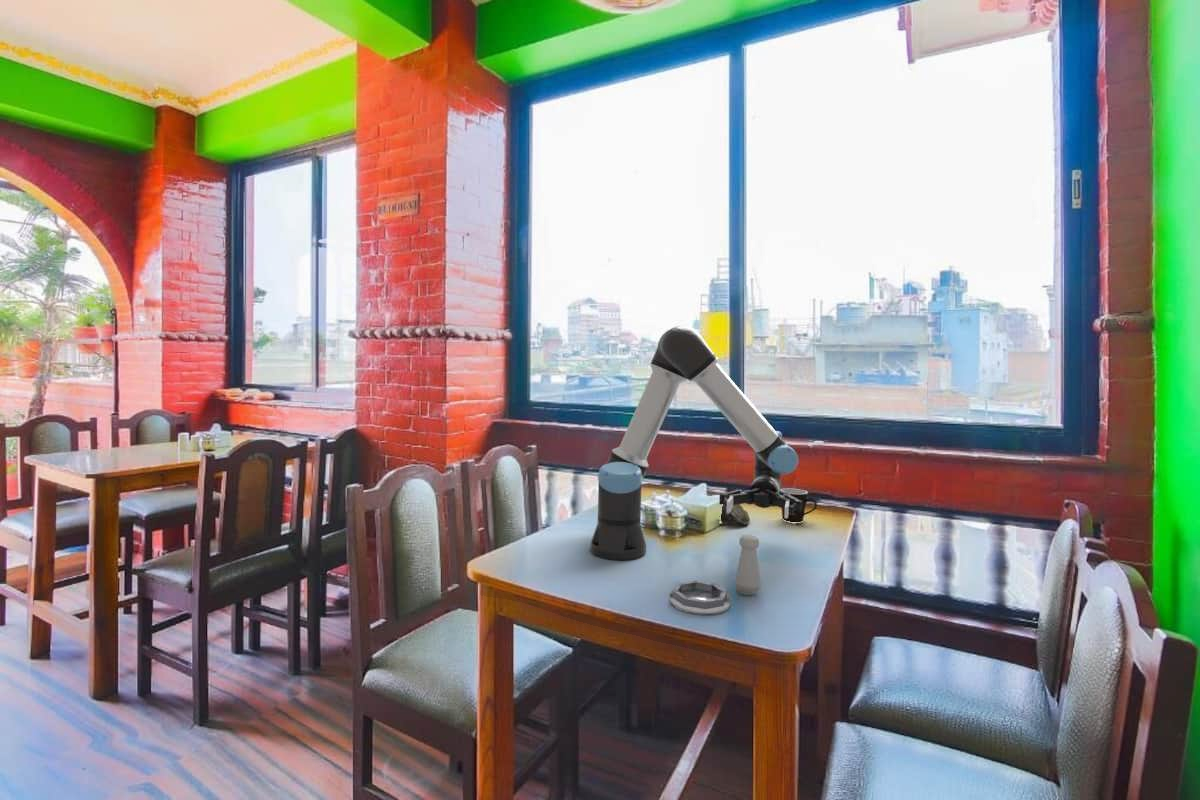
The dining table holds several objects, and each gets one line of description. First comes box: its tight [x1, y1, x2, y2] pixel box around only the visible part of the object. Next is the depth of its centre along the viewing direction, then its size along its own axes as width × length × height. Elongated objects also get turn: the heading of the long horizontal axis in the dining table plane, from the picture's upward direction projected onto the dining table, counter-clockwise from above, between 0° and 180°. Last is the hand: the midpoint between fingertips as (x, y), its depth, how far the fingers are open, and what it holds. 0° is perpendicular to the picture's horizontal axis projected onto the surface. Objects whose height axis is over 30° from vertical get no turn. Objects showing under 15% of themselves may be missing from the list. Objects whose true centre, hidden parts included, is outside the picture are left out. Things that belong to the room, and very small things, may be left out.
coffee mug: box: [779, 487, 818, 522], centre depth 195 cm, size 12×9×10 cm
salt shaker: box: [734, 534, 762, 597], centre depth 135 cm, size 6×6×13 cm
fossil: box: [721, 504, 751, 527], centre depth 192 cm, size 11×9×10 cm
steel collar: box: [669, 580, 731, 615], centre depth 129 cm, size 13×13×2 cm
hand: (756, 509), depth 143 cm, fingers open, 13 cm apart
